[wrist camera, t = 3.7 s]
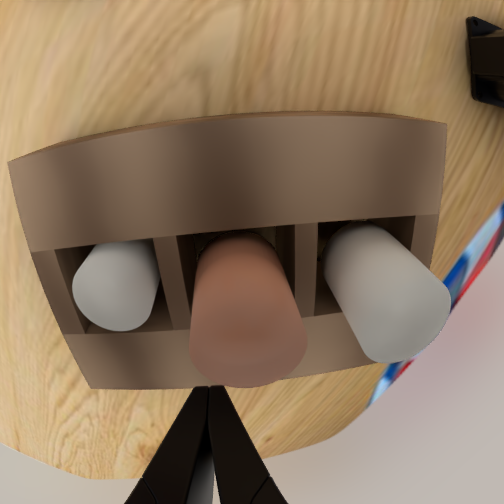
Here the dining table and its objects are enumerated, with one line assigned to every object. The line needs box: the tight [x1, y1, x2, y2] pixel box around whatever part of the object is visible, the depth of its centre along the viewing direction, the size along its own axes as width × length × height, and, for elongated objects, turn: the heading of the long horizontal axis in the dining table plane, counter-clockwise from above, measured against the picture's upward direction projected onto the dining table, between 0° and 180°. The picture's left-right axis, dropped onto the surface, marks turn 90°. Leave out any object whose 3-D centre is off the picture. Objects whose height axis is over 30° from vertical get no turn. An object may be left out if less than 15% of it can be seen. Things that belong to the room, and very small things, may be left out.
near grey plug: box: [321, 221, 451, 363], centre depth 13 cm, size 4×4×6 cm
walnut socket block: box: [8, 111, 447, 390], centre depth 17 cm, size 20×14×6 cm
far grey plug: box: [72, 238, 161, 331], centre depth 16 cm, size 4×4×6 cm
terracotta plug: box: [189, 231, 307, 388], centre depth 13 cm, size 4×4×6 cm
